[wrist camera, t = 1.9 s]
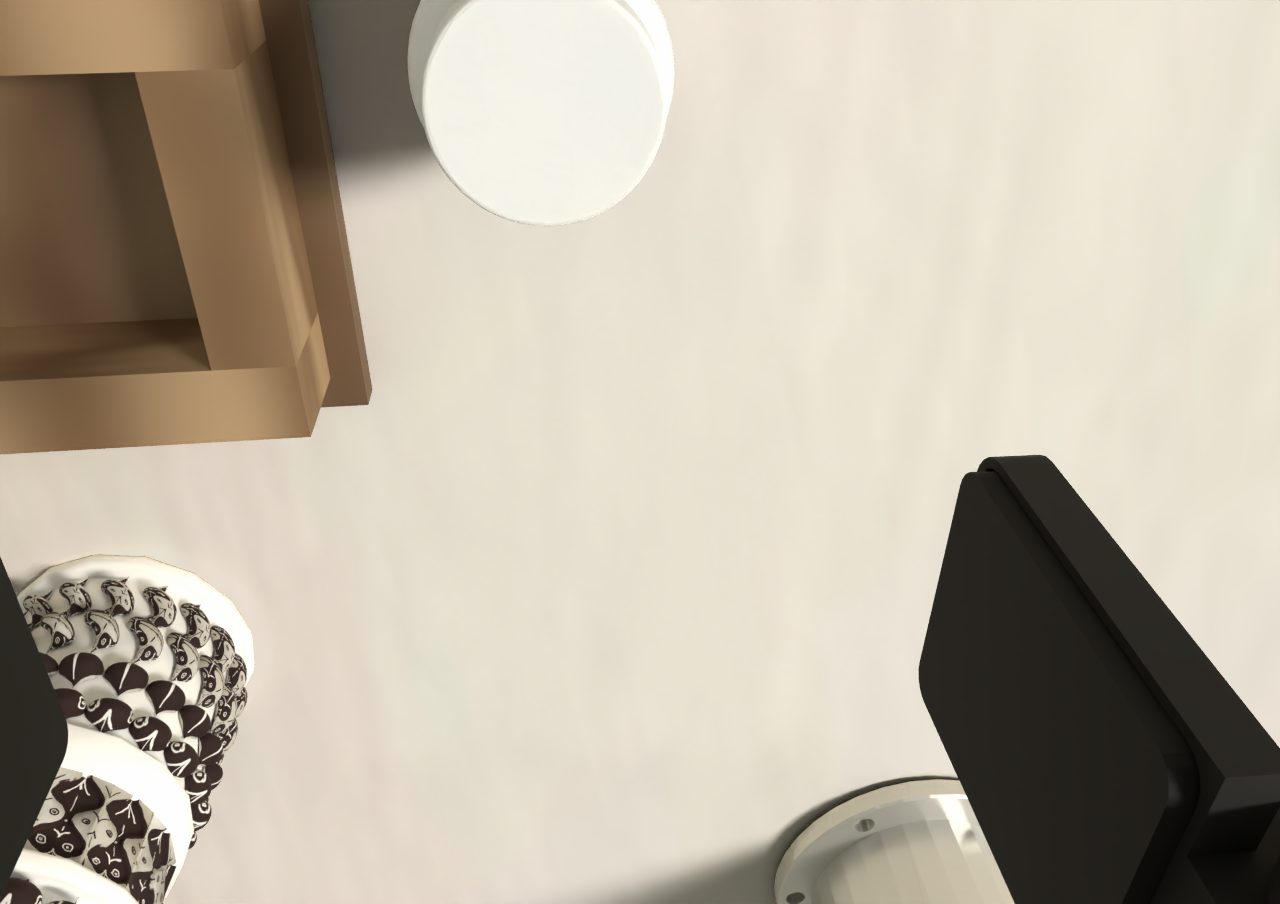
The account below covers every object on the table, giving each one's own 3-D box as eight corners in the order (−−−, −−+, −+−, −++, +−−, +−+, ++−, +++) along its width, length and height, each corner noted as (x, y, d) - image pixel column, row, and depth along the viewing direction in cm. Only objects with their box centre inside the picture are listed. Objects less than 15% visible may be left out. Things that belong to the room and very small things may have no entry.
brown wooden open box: (290, -105, 26) (249, -90, 22) (372, 389, 33) (352, 464, 29) (-310, -95, 25) (-462, -78, 21) (-86, 413, 32) (-167, 495, 28)
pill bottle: (385, -17, 27) (323, 62, 19) (565, -153, 26) (586, -134, 17) (515, 164, 30) (513, 304, 21) (682, 49, 29) (750, 150, 20)
